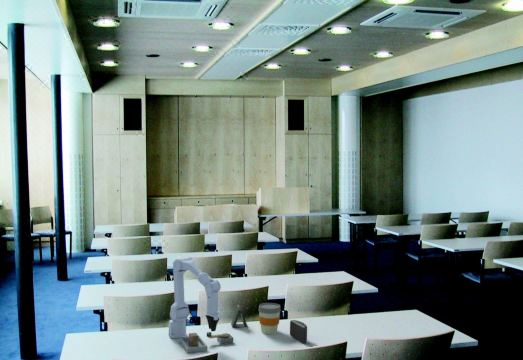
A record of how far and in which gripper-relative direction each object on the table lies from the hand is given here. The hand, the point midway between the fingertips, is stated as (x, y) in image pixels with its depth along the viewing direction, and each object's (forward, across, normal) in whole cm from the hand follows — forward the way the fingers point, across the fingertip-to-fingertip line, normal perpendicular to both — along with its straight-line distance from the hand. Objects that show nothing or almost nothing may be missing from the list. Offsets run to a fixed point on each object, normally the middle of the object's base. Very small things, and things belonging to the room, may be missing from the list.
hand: (212, 329), depth 312 cm
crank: (+6, +6, -5) cm, 10 cm away
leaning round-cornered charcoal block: (+10, -3, -48) cm, 49 cm away
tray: (+9, +4, +9) cm, 14 cm away
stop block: (+9, +4, +9) cm, 13 cm away
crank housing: (+9, +10, -9) cm, 16 cm away
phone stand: (+10, +30, -25) cm, 40 cm away
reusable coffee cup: (+10, +15, -38) cm, 42 cm away
